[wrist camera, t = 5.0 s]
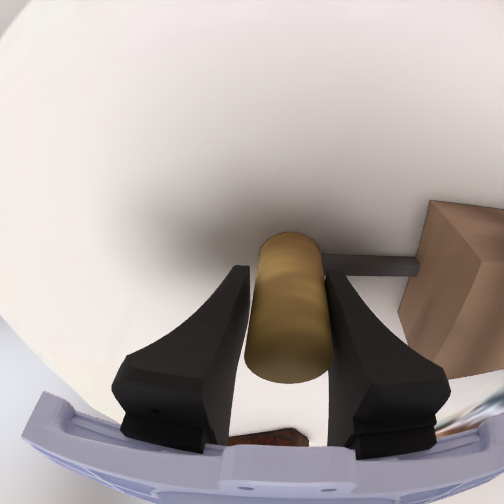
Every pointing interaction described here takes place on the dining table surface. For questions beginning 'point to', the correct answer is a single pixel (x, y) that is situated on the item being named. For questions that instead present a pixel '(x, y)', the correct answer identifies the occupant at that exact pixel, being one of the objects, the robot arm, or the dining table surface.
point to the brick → (271, 439)
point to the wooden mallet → (412, 306)
